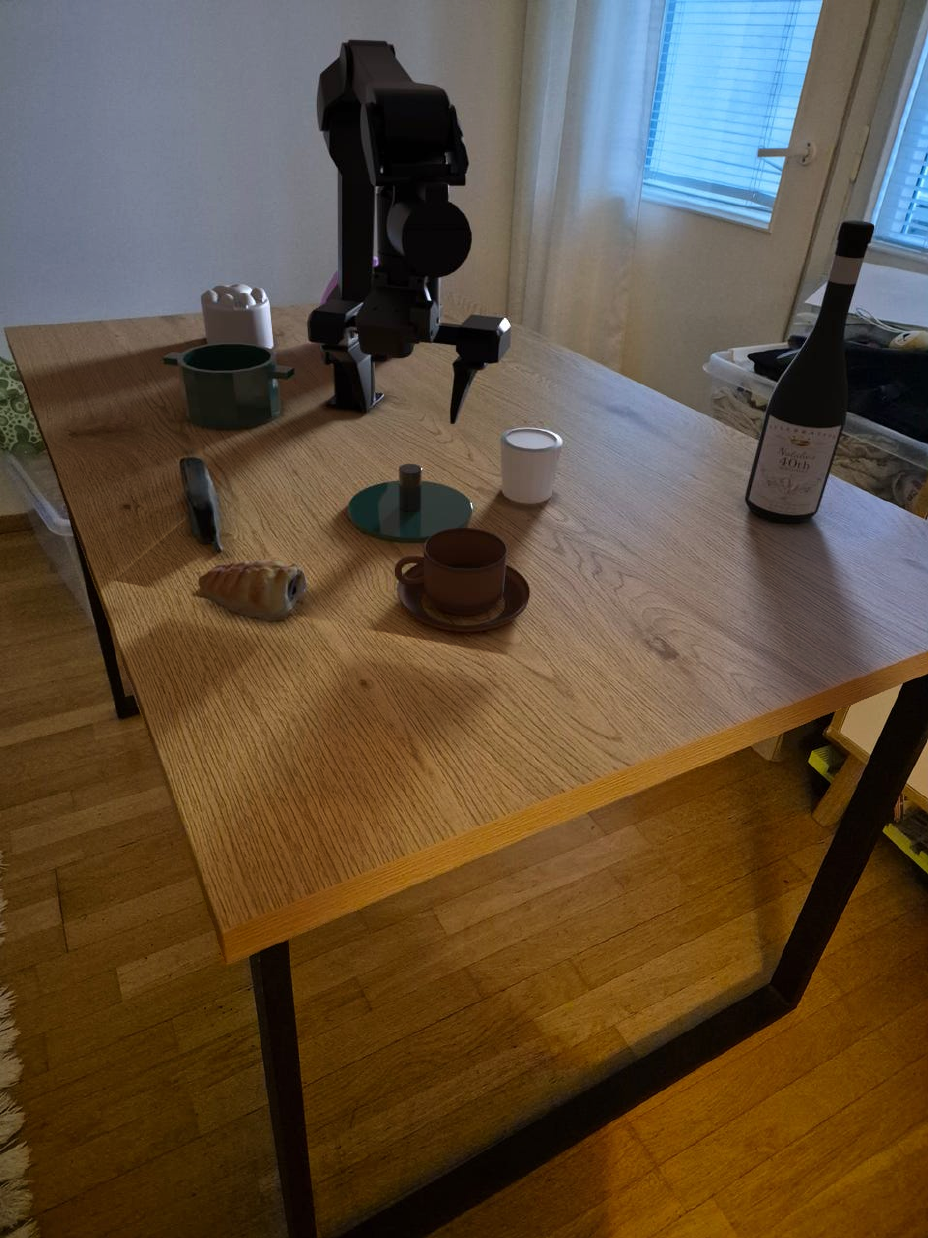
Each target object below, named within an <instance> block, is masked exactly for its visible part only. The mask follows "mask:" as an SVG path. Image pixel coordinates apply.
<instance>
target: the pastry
mask: <svg viewBox="0 0 928 1238" xmlns="http://www.w3.org/2000/svg"><path fill="white" fill-rule="evenodd" d="M197 582H198V585H199V589H200V591H201V592H202V594H203V595H204V596H205V597H206V598H207V599H208V600H210V602H211V603H215V604H216V605H217V606H219V607H223V608H225V609H227V611H228V612H231V613H234V614H238V615H241V616H244V617H247V618H248V617H249V618H258V619H259V620H262V621H266V622H276V621H277V622H278V621H284V620H286V619H288V617H289V616H290V614H291V613H289V611H292V608H293V607H294V605H295V604H296V603H297V602H298V600H299V599H301V597H303V596H304V594H305V593H306V592H307V589H308V579H307V575H306V573H305V571H304V570H303V568H302V567H301V566H300V565H298V564H297V563H291V564H288V563H285V562H282V561H278V560H272V559H269V558H266V557H265V558H260V559H258V560H255V561H254V560H252V561H251V560H245V561H233V562H231V563H223V564H218V565H216V566H214V567H213V568H211V569H209V570H208V571H206V573H205V574H203V575H201V576H199V578H198V580H197Z"/></svg>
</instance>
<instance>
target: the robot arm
mask: <svg viewBox="0 0 928 1238" xmlns="http://www.w3.org/2000/svg"><path fill="white" fill-rule="evenodd" d="M396 55H397V53H396V49H395V46H394V44H393V43H388V41H387V40H376V39H375V40H373V39H351V38H350V39H348V40H347V41H346V42H345V41H344V42H341V44H340V50H339V56H338V57H337V58H336V59H335V60H334V61H332V62H331V63H330V64H329V65H328V66H327V67H326V68H325V69H324V70H323V71H321V72H320V74H319V76H318V77H319V78H318V83H317V84H318V86H317V93H316V119H317V127H318V131H319V132H322V137H323V140H324V143H325V146H326V149H327V152H328V154H329V157H330V158H331V160H332V162H333V163H334V165H335V167H336V169H337V270H338V283H337V285H336V286H335V287H334V289H333V290H332V292H331V293H330V294H329V296H328V297H327V299H326V303H324V304H322V305H321V306H319V305H318V307H316V308H315V309H313V310H312V311H311V312H310V313H309V315H308V318H307V322H306V328H307V340H308V341H309V342H311V343H314V344H319V351H320V356H321V358H322V361H323V363H324V365H325V366H329V365H332V376H333V393H334V394H333V395H332V396H331V397H330V398H329V399H328V400H327V401H325V406H326V407H328V408H335V409H342V410H349V411H357V412H363V413H368V412H371V411H372V410H373V409H374V408H375V407H376V406H377V405H378V404H379V403H380V402H381V401H382V400H383V399H384V398H385V394H384V393H383V392H376V365H375V363H378V362H382V363H387V361H388V358H389V356H390V357H392V358H394V359H405V358H408V357H410V356H411V355H412V353H413V352H414V348H415V345H420V343H422V344H423V343H424V344H438V345H447V346H455V352H456V354H458V356H457V358H456V359H455V360H454V361H453V362H452V370H453V383H452V390H451V399H450V407H449V423H450V425H455V424H456V423H457V421H458V420H459V419H458V418H459V416H460V413H461V411H462V409H463V406H464V403H465V400H466V399H467V396H468V393H469V391H470V387H471V386H472V383H473V382H474V379H475V378H476V377H475V376H476V375H477V373H478V372H479V371H484V370H485V369H486V368H487V367H488V366H489V365H492V364H498V363H499V362H500V361H501V360H502V358H503V357H504V356H505V354H506V353H507V352H508V350H509V349H510V348H511V338H512V327H511V324H510V323H509V321H508V320H507V318H506V317H498V316H491V315H479V314H470V315H469V316H468V317H467V318H466V319H465V320H464V321H463V322H462V323H461V324H460V323H459V324H457V323H449V322H440V319H441V317H442V316H443V304H441V278H443V277H448V276H450V275H451V274H453V273H455V272H456V271H457V270H459V269H460V268H461V267H462V266H463V265H464V263H465V262H466V260H467V259H468V256H469V254H470V252H471V249H472V248H471V247H472V244H473V243H472V241H473V234H472V233H473V232H472V229H471V225H470V222H469V220H468V218H467V216H466V214H465V213H464V212H463V210H462V209H460V207H459V206H457V205H455V204H454V203H453V202H451V201H450V187H466V182H467V178H466V174H467V172H468V169H469V165H470V160H469V156H468V153H467V148H466V142H465V138H464V133H463V129H462V123H461V121H460V119H459V118H458V114H457V109H456V107H455V105H454V104H451V100H450V97H449V94H448V92H446V90H445V89H444V88H443V87H439V86H437V85H435V84H428V83H422V82H421V83H420V82H416V81H414V80H413V79H412V77H411V76H410V75H409V73H408V72H407V71H406V69H405V68H404V66H403V64H401V62H400V61H399V60H398V58H397V57H396ZM375 227H376V228H375ZM375 229H376V230H375ZM375 231H376V233H375ZM375 234H376V244H377V245H376V246H377V247H376V248H377V250H376V251H377V258H378V265H376V266H375V267H373V266H374V257H375ZM373 270H374V273H373Z"/></svg>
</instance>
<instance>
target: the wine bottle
mask: <svg viewBox="0 0 928 1238" xmlns="http://www.w3.org/2000/svg"><path fill="white" fill-rule="evenodd" d="M874 232H875V224H874V223H872V222H869V221H864V220H856V219H854V220H853V219H852V220H851V219H850V220H843V221H841V223H840V225H839V227H838V233H837V237H836V241H837V242H836V246H835V249H834V250H835V251H834V254H833V258H832V262H831V267H830V270H829V274H828V278H827V281H826V286H825V289H824V293H823V296H822V300H821V303H820V308H819V310H818V315H817V318H816V319H815V322H814V324H813V327H812V329H811V331H810V333H809V335H808V337H807V338H806V340H805V341H804V343H803V345H802V346H801V347H800V349H799V350H798V352H797V354H795V356H794V358H793V359H792V361H791V362H790V363H789V364H788V366H787V367H786V369H785V370H784V372H783V373H782V374H781V376H780V378H779V380H778V381H777V383H776V385H775V387H774V389H773V391H772V393H771V396H770V398H769V400H768V403H767V405H766V410H765V414H764V418H763V421H762V424H761V425H762V426H761V429H760V434H759V438H758V442H757V446H756V451H755V454H754V458H753V462H752V466H751V470H750V473H749V477H748V482H747V485H746V491H745V496H744V501H745V504H746V505H747V507H748V509H749V510H750V511H752V512H753V513H754V514H755V515H757V516H759V517H761V518H763V519H766V520H769V521H773V522H776V523H784V524H797V523H798V524H799V523H802V522H806V521H809V520H811V519H812V518H813V517H814V516H815V515H817V513H818V511H819V509H820V506H821V502H822V499H823V496H824V493H825V489H826V487H827V483H828V480H829V478H830V473H831V470H832V467H833V463H834V460H835V457H836V454H837V450H838V447H839V444H840V440H841V437H842V434H843V431H844V427H845V424H846V420H847V412H848V402H849V383H848V374H847V366H846V357H845V355H846V354H845V330H846V325H847V319H848V314H849V311H850V307H851V304H852V302H853V301H852V300H853V297H854V294H855V290H856V287H857V284H858V280H859V276H860V273H861V269H862V266H863V263H864V261H865V260H864V259H865V256H866V253H867V249H868V248H869V245H870V244H871V242H872V239H873V236H874Z"/></svg>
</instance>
